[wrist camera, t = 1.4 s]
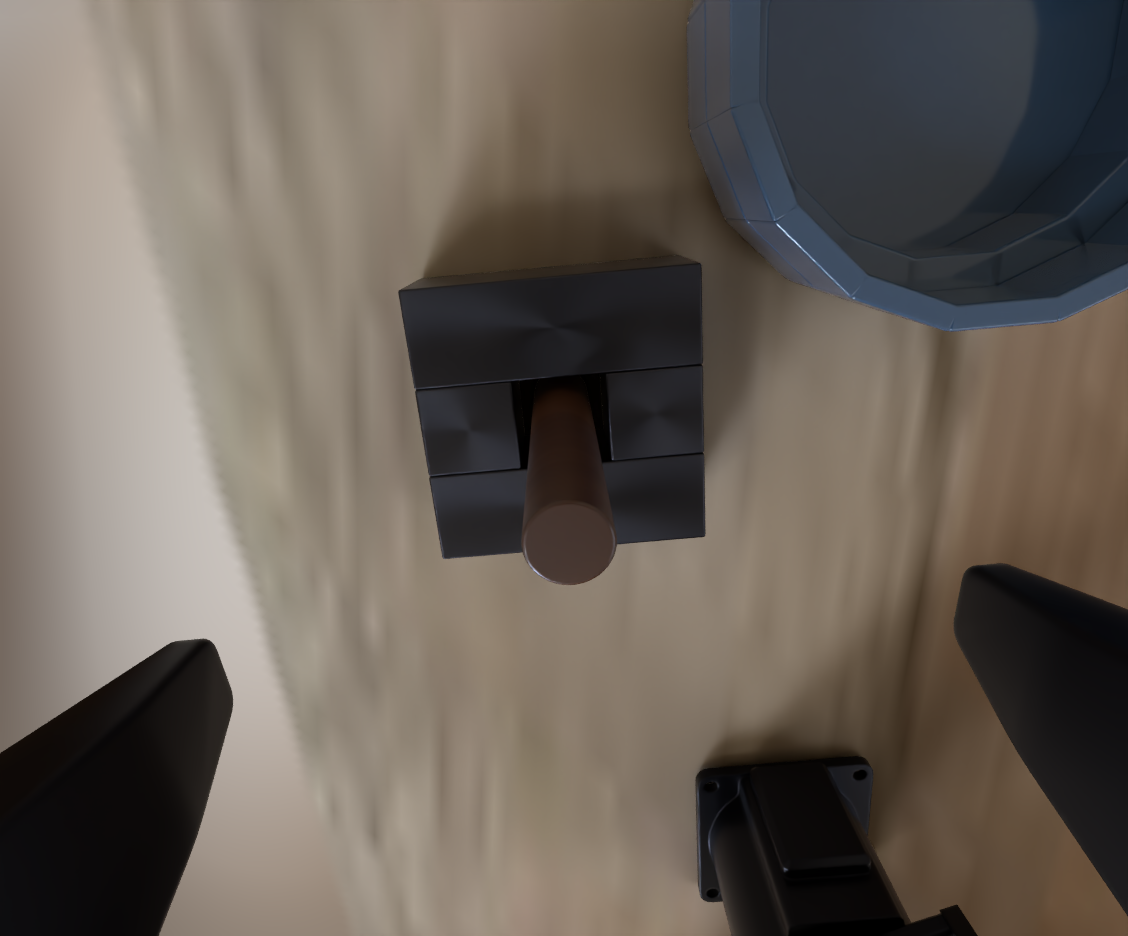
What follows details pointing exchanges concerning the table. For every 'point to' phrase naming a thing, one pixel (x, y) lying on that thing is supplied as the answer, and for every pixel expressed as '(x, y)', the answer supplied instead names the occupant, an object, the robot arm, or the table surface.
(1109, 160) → the bowl
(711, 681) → the table surface
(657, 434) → the holder
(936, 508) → the table surface
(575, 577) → the stick
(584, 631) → the table surface
